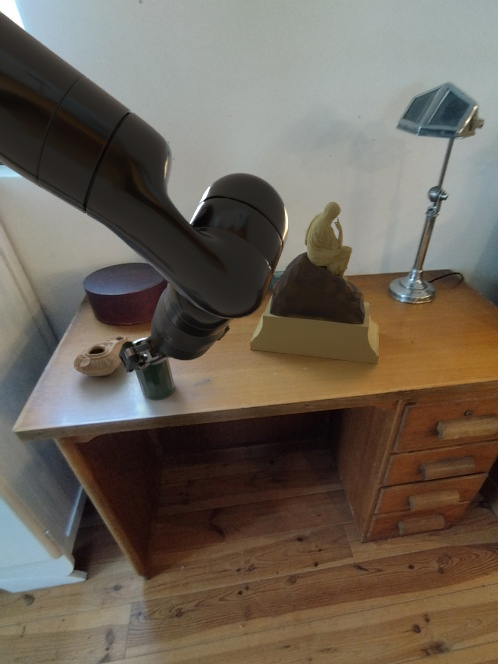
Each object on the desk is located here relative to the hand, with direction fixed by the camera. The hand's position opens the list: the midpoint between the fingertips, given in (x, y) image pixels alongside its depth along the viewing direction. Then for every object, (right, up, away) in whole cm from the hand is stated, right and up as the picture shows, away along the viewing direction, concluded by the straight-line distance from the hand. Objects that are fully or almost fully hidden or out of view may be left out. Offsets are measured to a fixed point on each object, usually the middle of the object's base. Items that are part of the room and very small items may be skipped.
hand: (168, 355), depth 58 cm
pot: (-7, -5, +16) cm, 18 cm away
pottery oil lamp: (-19, 0, +21) cm, 28 cm away
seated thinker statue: (+24, +7, +31) cm, 39 cm away
